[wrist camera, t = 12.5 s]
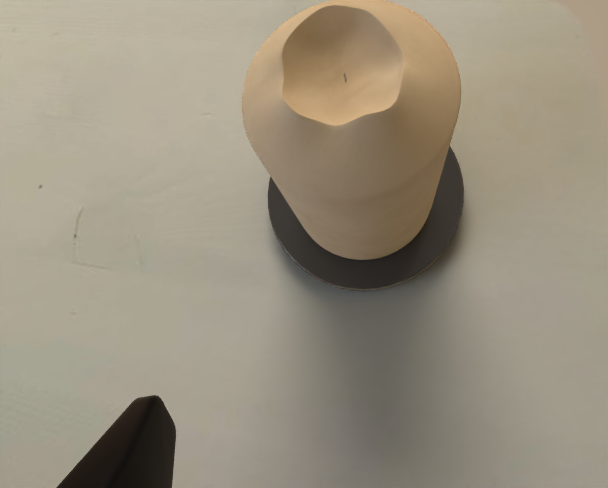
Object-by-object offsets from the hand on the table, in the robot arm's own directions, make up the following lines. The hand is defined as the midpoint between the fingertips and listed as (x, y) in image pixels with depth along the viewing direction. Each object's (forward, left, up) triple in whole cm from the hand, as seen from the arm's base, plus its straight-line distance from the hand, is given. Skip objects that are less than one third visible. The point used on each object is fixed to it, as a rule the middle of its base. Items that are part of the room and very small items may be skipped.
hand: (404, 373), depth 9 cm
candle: (+6, -3, -11) cm, 13 cm away
